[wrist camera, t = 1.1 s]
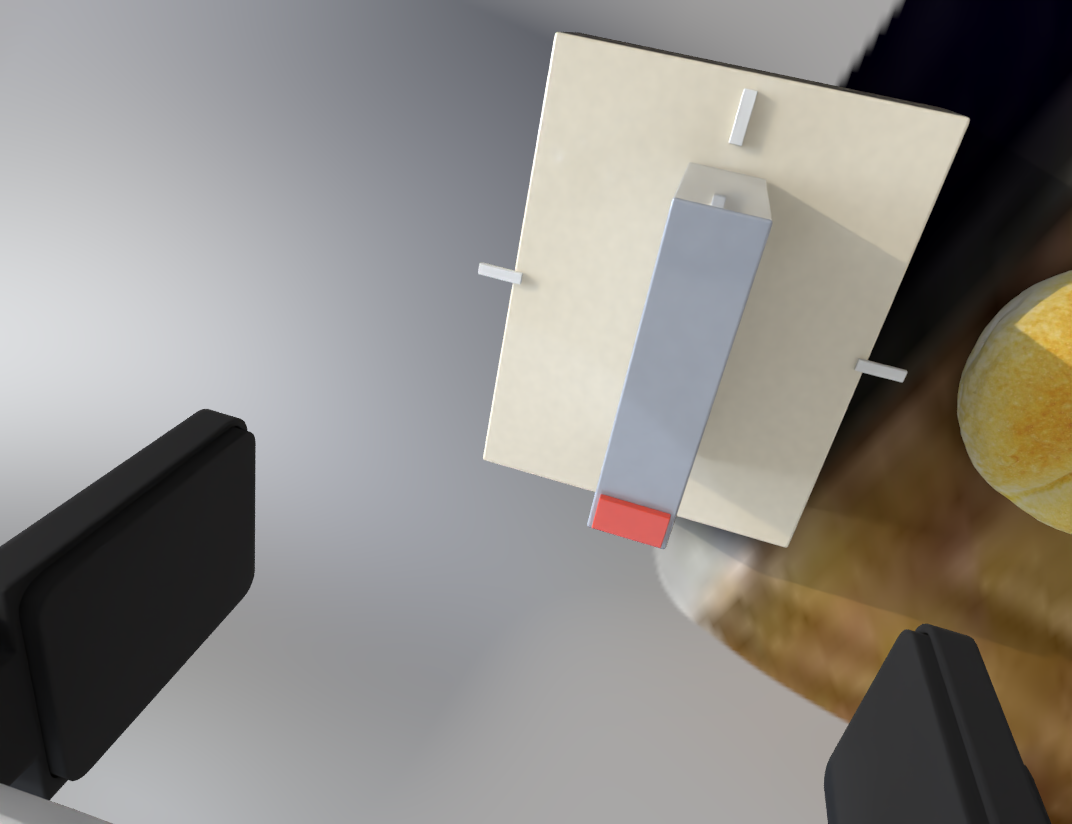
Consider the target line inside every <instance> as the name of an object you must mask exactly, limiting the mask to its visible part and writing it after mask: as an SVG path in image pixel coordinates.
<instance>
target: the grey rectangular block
mask: <svg viewBox="0 0 1072 824" xmlns="http://www.w3.org/2000/svg"><path fill="white" fill-rule="evenodd" d="M772 224H773V221H772V215H771V208H770V201H769V195H768V188H767V182H766V180H765V179H762V178H758V177H753V176H749V175H745V174H740V173H736V172H731V171H727V170H723V169H718V168H714V167H709V166H705V165H700V164H696V163H692V162H690V163H688V165H687V167H686V170H685V172H684V174H683V176H682V178H681V181H680V183H679V185H678V187H677V189H676V192H675V194H674V196H673V198H672V201H671V204H670V208H669V212H668V216H667V220H666V224H665V227H664V231H663V235H662V239H661V243H660V247H659V250H658V254H657V258H656V262H655V266H654V270H653V273H652V277H651V281H650V285H649V289H648V292H647V296H646V300H645V304H644V308H643V312H642V315H641V319H640V323H639V327H638V331H637V335H636V338H635V342H634V346H633V350H632V354H631V358H630V361H629V365H628V369H627V373H626V377H625V381H624V384H623V388H622V392H621V396H620V400H619V404H618V407H617V411H616V415H615V419H614V423H613V427H612V430H611V434H610V438H609V442H608V446H607V450H606V453H605V457H604V461H603V465H602V469H601V473H600V476H599V480H598V484H597V488H596V492H595V496H594V499H593V504H592V507H591V511H590V515H589V519H588V522H587V525H588V527H590V528H593V529H597V530H600V531H603V532H607V533H610V534H613V535H617V536H620V537H624V538H627V539H630V540H634V541H637V542H641V543H644V544H647V545H650V546H654V547H657V548H661V549H665V548H666V546H667V543H668V540H669V537H670V534H671V531H672V528H673V525H674V522H675V519H676V516H677V513H678V510H679V507H680V504H681V501H682V498H683V494H684V491H685V488H686V485H687V482H688V479H689V476H690V473H691V470H692V467H693V464H694V461H695V458H696V455H697V452H698V449H699V446H700V443H701V440H702V437H703V434H704V431H705V428H706V425H707V422H708V419H709V416H710V413H711V410H712V406H713V403H714V400H715V397H716V394H717V391H718V388H719V385H720V382H721V379H722V376H723V373H724V370H725V367H726V364H727V361H728V358H729V355H730V352H731V349H732V346H733V343H734V340H735V337H736V334H737V331H738V328H739V325H740V322H741V319H742V315H743V312H744V309H745V306H746V303H747V300H748V297H749V294H750V291H751V288H752V285H753V282H754V279H755V276H756V273H757V270H758V267H759V264H760V261H761V258H762V255H763V252H764V249H765V246H766V243H767V240H768V237H769V234H770V231H771V227H772Z"/></svg>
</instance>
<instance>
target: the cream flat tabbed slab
mask: <svg viewBox="0 0 1072 824" xmlns="http://www.w3.org/2000/svg"><path fill="white" fill-rule="evenodd" d="M969 123H970V118H968V117H966V116H963V115H960V114H958V113H955V112H952V111H949V110H946V109H943V108H939V107H934V106H930V105H925V104H920V103H915V102H910V101H905V100H901V99H896V98H891V97H886V96H881V95H877V94H872V93H867V92H862V91H857V90H852V89H848V88H843V87H838V86H833V85H828V84H823V83H819V82H814V81H809V80H804V79H799V78H795V77H789V76H785V75H780V74H775V73H770V72H766V71H761V70H756V69H751V68H746V67H742V66H736V65H732V64H727V63H722V62H717V61H713V60H708V59H703V58H698V57H693V56H689V55H683V54H679V53H674V52H669V51H664V50H659V49H655V48H650V47H645V46H640V45H636V44H631V43H626V42H621V41H616V40H611V39H606V38H602V37H597V36H592V35H587V34H582V33H573V32H557V33H556V34H555V37H554V43H553V49H552V54H551V60H550V66H549V72H548V78H547V84H546V89H545V95H544V101H543V107H542V113H541V119H540V125H539V131H538V136H537V142H536V148H535V154H534V161H533V166H532V172H531V178H530V184H529V190H528V196H527V202H526V207H525V213H524V219H523V225H522V231H521V237H520V243H519V248H518V254H517V261H516V266H515V271H514V270H510V269H506V268H502V267H498V266H494V265H490V264H486V263H482V262H481V263H480V265H479V272H478V274H480V275H484V276H488V277H492V278H496V279H500V280H504V281H508V282H512V283H513V284H512V290H511V296H510V302H509V307H508V313H507V319H506V325H505V331H504V337H503V343H502V349H501V355H500V361H499V366H498V372H497V378H496V384H495V390H494V396H493V402H492V408H491V414H490V420H489V426H488V432H487V437H486V443H485V449H484V455H483V459H484V460H486V461H489V462H493V463H496V464H499V465H503V466H507V467H510V468H513V469H517V470H520V471H524V472H527V473H530V474H534V475H538V476H541V477H544V478H548V479H551V480H555V481H558V482H561V483H565V484H568V485H572V486H575V487H579V488H582V489H586V490H589V491H592V492H596V488H597V484H598V480H599V476H600V473H601V469H602V465H603V461H604V457H605V453H606V450H607V446H608V442H609V438H610V434H611V430H612V427H613V423H614V419H615V415H616V411H617V407H618V404H619V400H620V396H621V392H622V388H623V384H624V381H625V377H626V373H627V369H628V365H629V361H630V358H631V354H632V350H633V346H634V342H635V338H636V335H637V331H638V327H639V323H640V319H641V315H642V312H643V308H644V304H645V300H646V296H647V292H648V289H649V285H650V281H651V277H652V273H653V270H654V266H655V262H656V258H657V254H658V250H659V247H660V243H661V239H662V235H663V231H664V227H665V224H666V220H667V216H668V212H669V208H670V204H671V201H672V198H673V196H674V194H675V192H676V189H677V187H678V185H679V183H680V181H681V178H682V176H683V174H684V172H685V170H686V167H687V165H688V163H690V162H692V163H696V164H700V165H705V166H709V167H714V168H718V169H723V170H727V171H731V172H736V173H740V174H745V175H749V176H753V177H758V178H762V179H765V180H766V182H767V188H768V195H769V201H770V208H771V215H772V221H773V224H772V227H771V231H770V234H769V237H768V240H767V243H766V246H765V249H764V252H763V255H762V258H761V261H760V264H759V267H758V270H757V273H756V276H755V279H754V282H753V285H752V288H751V291H750V294H749V297H748V300H747V303H746V306H745V309H744V312H743V315H742V319H741V322H740V325H739V328H738V331H737V334H736V337H735V340H734V343H733V346H732V349H731V352H730V355H729V358H728V361H727V364H726V367H725V370H724V373H723V376H722V379H721V382H720V385H719V388H718V391H717V394H716V397H715V400H714V403H713V406H712V410H711V413H710V416H709V419H708V422H707V425H706V428H705V431H704V434H703V437H702V440H701V443H700V446H699V449H698V452H697V455H696V458H695V461H694V464H693V467H692V470H691V473H690V476H689V479H688V482H687V485H686V488H685V491H684V494H683V498H682V501H681V504H680V507H679V510H678V513H677V516H679V517H682V518H685V519H689V520H692V521H696V522H699V523H703V524H706V525H710V526H713V527H717V528H720V529H723V530H727V531H730V532H734V533H737V534H741V535H744V536H748V537H751V538H754V539H758V540H761V541H765V542H768V543H772V544H775V545H779V546H782V547H788V546H789V543H790V541H791V539H792V536H793V534H794V532H795V529H796V527H797V525H798V522H799V520H800V518H801V515H802V513H803V511H804V508H805V506H806V504H807V501H808V499H809V497H810V494H811V492H812V490H813V487H814V485H815V483H816V480H817V478H818V476H819V473H820V471H821V469H822V466H823V464H824V462H825V459H826V457H827V455H828V452H829V450H830V448H831V445H832V443H833V441H834V438H835V436H836V434H837V431H838V429H839V427H840V424H841V422H842V419H843V417H844V415H845V412H846V410H847V408H848V405H849V403H850V401H851V398H852V396H853V394H854V391H855V389H856V387H857V384H858V382H859V380H860V377H861V375H862V373H867V374H871V375H875V376H879V377H882V378H886V379H890V380H894V381H898V382H902V383H903V381H904V379H905V377H906V374H907V370H904V369H900V368H896V367H892V366H888V365H884V364H880V363H876V362H873V361H869V360H868V359H869V356H870V354H871V352H872V349H873V347H874V345H875V342H876V340H877V338H878V335H879V333H880V331H881V328H882V326H883V324H884V321H885V319H886V317H887V314H888V312H889V310H890V307H891V305H892V303H893V300H894V298H895V296H896V293H897V291H898V289H899V286H900V284H901V282H902V279H903V277H904V275H905V272H906V270H907V268H908V265H909V263H910V261H911V258H912V256H913V254H914V251H915V249H916V247H917V244H918V242H919V240H920V237H921V235H922V232H923V230H924V228H925V225H926V223H927V221H928V218H929V216H930V214H931V211H932V209H933V207H934V204H935V202H936V200H937V197H938V195H939V193H940V190H941V188H942V186H943V183H944V181H945V179H946V176H947V174H948V172H949V169H950V167H951V165H952V162H953V160H954V158H955V155H956V153H957V151H958V148H959V146H960V144H961V141H962V139H963V137H964V134H965V132H966V130H967V127H968V125H969Z"/></svg>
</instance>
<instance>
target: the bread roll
mask: <svg viewBox="0 0 1072 824" xmlns="http://www.w3.org/2000/svg"><path fill="white" fill-rule="evenodd" d="M957 416H958V421H959V425H960V429H961V433H960V434H961V436H962V438H963V441H964V443H965V446H966V450H967V453H968V455H969V457H970V459H971V461H972V463H973V465H974V467H975V468H976V470H977V471H978V472H979V473H980V475H981V476H982V477H983V478H984V479H985V480H986V481H987V483H988V484H989V485H991V486H992V487H993V488H994V489H995V490H996V491H998V492H999V493H1001V494H1002V495H1004V496H1005V497H1007V498H1008V499H1009V500H1010V501H1012V502H1013V503H1014V504H1015V505H1017V506H1018V507H1019V508H1020V509H1022V510H1023V511H1025V512H1026V513H1028V514H1030V515H1031V516H1033V517H1034V518H1036V520H1038V521H1040V522H1042V523H1044V524H1046V525H1048V526H1051V527H1053V528H1055V529H1057V530H1061V531H1064V532H1066V533H1069V534H1071V535H1072V270H1070V271H1068V272H1065V273H1062V274H1059V275H1056V276H1053V277H1051V278H1048V279H1046V280H1044V281H1041V282H1039V283H1037V284H1034V285H1032V286H1031V287H1029V288H1028V289H1026V290H1024V291H1023V292H1021V293H1020V294H1019V295H1018V296H1017V297H1015V298H1013V299H1012V300H1011V301H1010V302H1009V303H1008V304H1006V305H1005V306H1004V307H1003V308H1002V309H1001V310H1000V311H999V312H998V313H997V314H996V315H995V317H994V318H993V319H992V320H991V321H990V323H989V324H988V325H987V326H986V327H985V329H984V330H983V332H982V333H981V335H980V336H979V338H978V340H977V342H976V344H975V346H974V348H973V350H972V352H971V354H970V356H969V357H968V359H967V362H966V365H965V367H964V370H963V372H962V375H961V380H960V384H959V391H958V400H957Z"/></svg>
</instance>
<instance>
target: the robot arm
mask: <svg viewBox="0 0 1072 824" xmlns="http://www.w3.org/2000/svg"><path fill="white" fill-rule="evenodd" d="M254 571H255V437H254V435H253V434H252V433H251V432H248V431H247V426H246V424H245V422H244V421H243V420H241V419H239V418H236V417H233V416H229V415H226V414H222V413H219V412H216V411H213V410H209V409H202V410H200V411H198V412H196V413H195V414H193V415H192V416H190V417H189V418H187V419H186V420H185V421H183V422H182V423H180V424H179V425H177V426H176V427H174V428H173V429H171V430H170V431H168V432H167V433H166V434H164V435H163V436H162V437H160V438H158V439H157V440H155V441H154V442H152V443H151V444H150V445H148V446H147V447H145V448H144V449H142V450H141V451H139V452H138V453H136V454H135V455H133V456H132V457H131V458H129V459H128V460H126V461H125V462H123V463H122V464H120V465H119V466H117V467H116V468H114V469H113V470H112V471H110V472H109V473H107V474H106V475H104V476H103V477H101V478H100V479H99V480H97V481H96V482H94V483H93V484H91V485H90V486H88V487H87V488H86V489H84V490H82V491H81V492H79V493H78V494H76V495H75V496H74V497H72V498H71V499H69V500H68V501H66V502H65V503H63V504H62V505H61V506H59V507H57V508H56V509H55V510H53V511H52V512H50V513H49V514H47V515H46V516H44V517H43V518H42V519H40V520H38V521H37V522H36V523H34V524H33V525H31V526H30V527H28V528H27V529H25V530H24V531H22V532H21V533H19V534H18V535H17V536H15V537H14V538H12V539H11V540H9V541H8V542H7V543H5V544H4V545H2V546H1V547H0V824H112V823H109V822H107V821H104V820H101V819H98V818H96V817H93V816H91V815H88V814H85V813H83V812H80V811H77V810H75V809H71V808H69V807H66V806H63V805H60V804H58V803H55V802H52V801H49V800H50V799H51V798H52V797H53V796H54V795H55V794H56V793H57V791H58V790H59V789H60V788H61V787H62V786H63V785H64V784H65V783H66V782H67V780H71V781H75V780H78V779H80V778H81V777H83V776H84V775H85V774H86V773H87V772H88V771H89V770H90V769H91V768H92V767H93V766H94V765H95V764H96V762H97V761H98V760H99V759H100V758H101V757H102V756H103V755H104V753H105V752H106V751H107V750H108V749H109V748H110V747H111V745H112V744H113V743H114V742H115V741H116V740H117V739H118V738H119V737H120V736H121V734H122V733H123V732H124V731H125V730H126V729H127V728H128V727H129V725H130V724H131V723H132V722H133V721H134V720H135V719H136V718H137V716H138V715H139V714H140V713H141V712H142V711H143V710H144V709H145V707H146V706H147V705H148V704H149V703H150V702H151V701H152V700H153V698H154V697H155V696H156V695H157V694H158V693H159V692H160V691H161V689H162V688H163V687H164V686H165V685H166V684H167V683H168V682H169V681H170V679H171V678H172V677H173V676H174V675H175V674H176V673H177V672H178V670H179V669H180V668H181V667H182V666H183V665H184V664H185V663H186V661H187V660H188V659H189V658H190V657H191V656H192V655H193V654H194V652H195V651H196V650H197V649H198V648H199V647H200V646H201V644H202V643H203V642H204V641H205V640H206V639H207V638H208V636H210V634H211V633H212V632H213V631H214V630H215V629H216V628H217V627H218V626H219V624H220V623H221V622H222V621H223V620H224V619H225V618H226V616H227V615H228V614H229V613H230V612H231V611H232V610H233V609H234V608H235V606H236V605H237V604H238V603H239V602H240V601H241V600H242V599H243V597H244V596H245V595H246V594H247V592H248V590H249V588H250V586H251V584H252V581H253V578H254ZM824 791H825V800H826V808H827V818H828V824H1051V822H1050V819H1049V817H1048V814H1047V812H1046V809H1045V807H1044V804H1043V802H1042V799H1041V797H1040V794H1039V792H1038V789H1037V787H1036V784H1035V782H1034V779H1033V777H1032V775H1031V774H1030V772H1029V770H1028V768H1027V767H1026V766H1025V765H1024V764H1023V761H1022V759H1021V756H1020V754H1019V751H1018V749H1017V746H1016V744H1015V741H1014V738H1013V736H1012V733H1011V731H1010V728H1009V726H1008V723H1007V721H1006V718H1005V715H1004V713H1003V710H1002V708H1001V705H1000V703H999V700H998V698H997V695H996V692H995V690H994V687H993V685H992V682H991V680H990V677H989V675H988V672H987V670H986V667H985V664H984V662H983V659H982V657H981V654H980V652H979V649H978V647H977V644H976V643H975V641H974V639H972V638H971V637H969V636H967V635H963V634H960V633H957V632H953V631H950V630H947V629H943V628H940V627H936V626H933V625H930V624H922V625H920V626H919V627H918V628H917V629H916V630H915V632H914V631H911V630H904V631H903V632H901V634H900V635H899V637H898V638H897V640H896V642H895V644H894V645H893V647H892V649H891V651H890V652H889V654H888V656H887V658H886V659H885V661H884V663H883V665H882V667H881V668H880V670H879V672H878V674H877V675H876V677H875V679H874V681H873V682H872V684H871V686H870V688H869V690H868V691H867V693H866V695H865V697H864V698H863V700H862V702H861V704H860V705H859V707H858V709H857V711H856V713H855V714H854V716H853V718H852V720H851V721H850V723H849V725H848V727H847V729H846V730H845V732H844V734H843V736H842V737H841V739H840V741H839V743H838V744H837V746H836V748H835V750H834V752H833V753H832V755H831V757H830V759H829V761H828V763H827V767H826V771H825V777H824Z"/></svg>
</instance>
